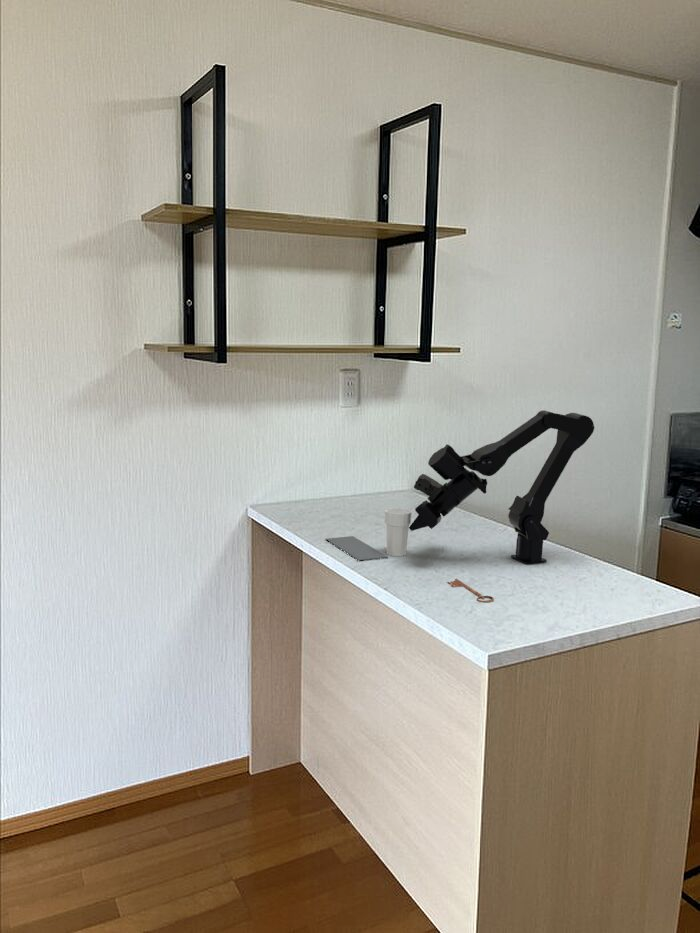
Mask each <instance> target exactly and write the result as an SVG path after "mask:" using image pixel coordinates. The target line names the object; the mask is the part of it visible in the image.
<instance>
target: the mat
mask: <svg viewBox="0 0 700 933" xmlns="http://www.w3.org/2000/svg"><path fill="white" fill-rule="evenodd" d="M326 540H328V541H329V542H330V543H329V542H328V541H327V542H328V543H329V544H331V543H332V544H331V545H333V546H334V545H335V546H334V547H336V546H337V547H338V548H337V547H336V548H337V549H339V548H340V549H342V550H343V551H342V550H341V551H342V552H344V551H345V552H346V553H345V552H344V553H345V554H347V553H348V554H349V555H348V554H347V555H348V556H350V555H351V556H352V558H353V557H354V558H353V559H355V558H356V559H357V560H356V559H355V560H356V561H358V560H359V561H358V562H361V561H360V560H366V561H371V560H370V559H376V560H381V559H380V558H385V559H389V555H387V554H384V553H383V552H381V551H379V550H378V549H375V547H373V546H370V545H369V544H367V543H366V542H364V541H362V540H361V539H358V538H357V537H355V536H353V535H350V536H337V537H328V538H325V541H326ZM340 549H339V550H340ZM351 556H350V557H351Z"/></svg>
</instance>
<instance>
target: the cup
mask: <svg viewBox="0 0 700 933" xmlns="http://www.w3.org/2000/svg"><path fill="white" fill-rule="evenodd" d="M412 512H413V511H412V510H410V509H407V508H401V507H390V508H387V509H385V510H384V523H385V525H386V555H388V554H389V555H388V556H391V555H392V556H391V557H404V556H406V555H407V546H408V538H409V530H410V529H409V527H410V525H411V524H412V523H411V522H412ZM403 555H404V556H403Z"/></svg>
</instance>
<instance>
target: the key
mask: <svg viewBox="0 0 700 933" xmlns="http://www.w3.org/2000/svg"><path fill="white" fill-rule="evenodd" d="M446 583H447V585H449V586H450V587H451V588H464V589H466V590H468V591H469V592H470V593H472V595H475V596H476V597H477V598H476V602H478V603H483V604H487V603H488V604H489V603H492V602H493V601H494V600H495V598H494V597H492V596H491V595H490V596H489V595H482V594H481V593H480V592H478V591H477V590H474V589H473V588H472V587H470V586H469V585H467V584H466V583H464V582H463V581H461V580H459V579H458V578H455V579H454V580H452V581H448V582H447V581H446ZM480 599H481V600H480ZM485 599H488V600H485Z"/></svg>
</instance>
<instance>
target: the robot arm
mask: <svg viewBox="0 0 700 933" xmlns="http://www.w3.org/2000/svg"><path fill="white" fill-rule="evenodd" d="M551 429H554V430H557V431H556V432H557V433H556V440H555V441H556V442H555V443H554V446H553V448H552V450H551V452H550V453H549V455H548V457H547V459H546V460H545V462H544V464H543V466H542V467H541V469H540V471H539V473H538V475H537V476H536V478H535V480H534V482H533V483H532V484H531V487H530V488H529V490H528V492H527V493H526V494H525V495H524V496H522V497H521V496H519V495H516V496H515V497H514V501H513V502H512V504H511V506H510V507H508V510H509V513H508V514H507V518H508V519H509V520H508V521H509V522H510V525H512V526H513V528H514V532H515V533H517V538H516V542H515V543H516V545H515V554H511V556H510V557H511V559H513V560H517V561H518V562H521V563H523V564H526V565H529V564H537V563H538V564H540V563H546V562H547V559H545V558H543V549H544V548H543V546H544V541H547V539H548V536H549V534H550V532H549V530H547V528H546V527H545V526H544V525H543V524H542V521H543V517H544V515H545V507H546V506H545V505H546V502H547V500H548V497H549V496H550V495H551V493H552V491H553V489H554V487H555V485H556V484H557V482H558V481H559V478H560V477H561V475H562V473H563V471H564V470H565V468H566V466H567V465H568V462H569V461H570V459H571V458H572V456H573V454H574V453H575V452H576V451H577V450H578V449H579V448H581V447H582V446H583V445H585V443H586V442H587V441H588V440H589V439H590V437H591V436H592V435H593V433H594V431H595V424H594V421H593V420H592V418H591V417H590V416H587V415H585V414H580V413H577V412H570V413H566V414H560V413H557V412H556V413H555V412H551V411H548V410H540V411H538V412H537V413H536V414H535V415H534V416H533V417H531V418H530V419H528V420H527V421H526V422H524V423H523V424H521V425H520V426H518V427H517V428H515V429H514V430H512V431H511V432H510V433H508V434H507V435H505V436H504V437H503V438H501V439H500V440H498V441H495V442H492V443H489V444H485V445H483V446H482V447H480V448H477V449H475V450H473V452H472V453H471V454H467V455H459V454H458V452H457V451H456V450H455V449H454V448H453V447H452V446H451V445H449V444H446V445H445V446H444V447H442V448H441V447H440V448H439V449H438V450H436V452H434V453H433V454H432V455H431V456H430V458H429V460H428V461H427V462H428V463H427V464H428V466H429V467H430V468H432V470H434V472H436V473H437V474H438V475H439V476H440V477H441V478H442V479H444V480H445V481H448V482H445V483H444V484H442V483H439V482H438V481H437V480H435V479H434V478H432V477H430V476H429V475H426V474H424V473H421V474H420V475H419V476H418V478H417V479H416V481H415V484H414V485H413V489H415V490H416V491H420V492H421V493H423V494H424V495H426V496H427V500H425V501H423V502H421V503H420V504H419V505H418V506H417V507H416V508H414V511H415V512H416V513H417V517H416V518H415V519H414V520H413V522H412V523H410V524H409V529H408V530H410V531H411V532H412V531H416V530H420V529H423V528H426V527H428V528H430V529H431V530H432V529H433V528H435V527H436V526H438V524H440V523H441V522H442V521H441V520H442V517H446V516H447V515H449V513H451V512H452V511H453V510H454V509H455V508H456V507H458V506H459V505H460V504H461V503H462V502H464V500H466V499H467V498H468V497H469V496H471V495H472V494H473V493H474V492H476V490H479V491H481V492H482V493H483V494H487V485H488V479H487V478H481V477H480V476H479V475H478V474H477V473H479V474H481V475H483V476H486V477H492V476H493V475H496V474H497V472H499V471H500V470H501V468H503V467H504V466H505V465H506V463H507V461H508V460H509V458H511V456H513V454H515V453H517V452H518V451H520V450H521V449H522V448H524V447H525V446H527V445H528V444H529V443H531V442H532V441H533V440H535V439H537V438H538V437H539V436H541V435H542V434H544V433H545V432H546V431H548V430H551ZM467 468H468V469H469V470H471V471H469V470H468V469H467ZM474 471H475V472H477V473H475V472H474Z"/></svg>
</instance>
